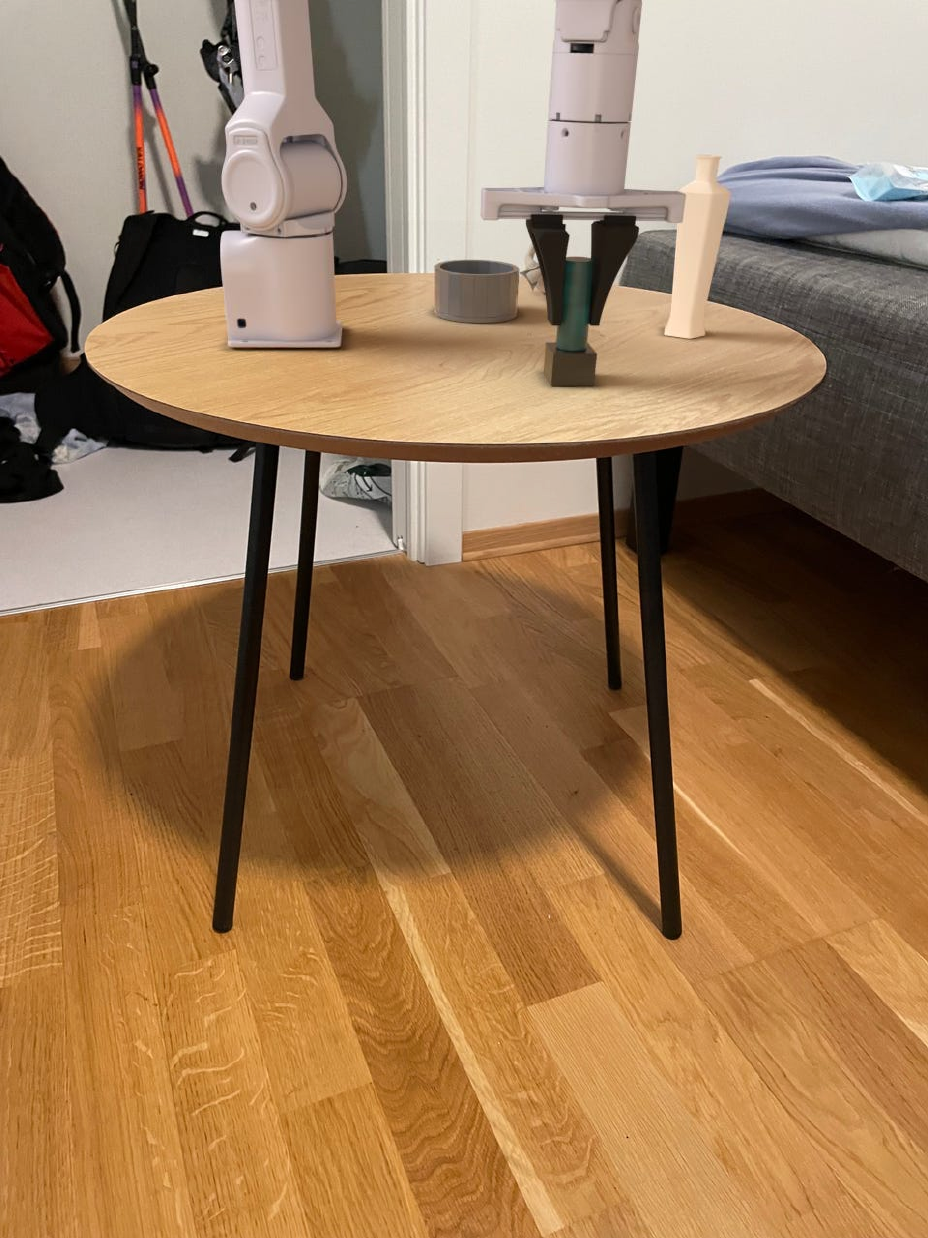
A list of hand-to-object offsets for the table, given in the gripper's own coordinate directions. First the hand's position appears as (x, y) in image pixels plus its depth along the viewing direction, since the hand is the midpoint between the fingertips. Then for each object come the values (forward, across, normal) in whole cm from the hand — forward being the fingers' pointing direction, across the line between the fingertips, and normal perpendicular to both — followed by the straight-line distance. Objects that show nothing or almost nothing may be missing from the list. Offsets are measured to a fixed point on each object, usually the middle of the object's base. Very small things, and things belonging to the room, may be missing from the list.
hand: (572, 322), depth 71 cm
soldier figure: (+5, +4, +33) cm, 34 cm away
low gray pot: (+4, -5, +23) cm, 24 cm away
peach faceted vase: (+5, +14, +15) cm, 21 cm away
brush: (+4, 0, 0) cm, 4 cm away
